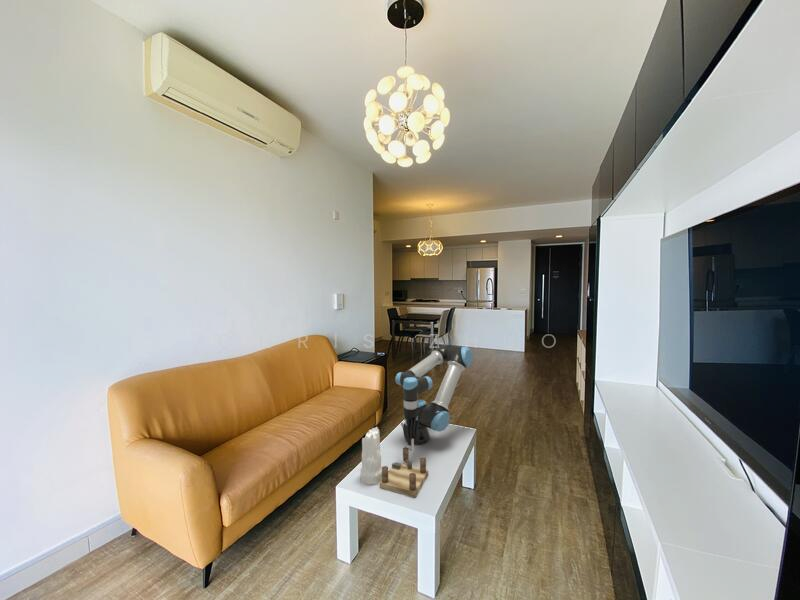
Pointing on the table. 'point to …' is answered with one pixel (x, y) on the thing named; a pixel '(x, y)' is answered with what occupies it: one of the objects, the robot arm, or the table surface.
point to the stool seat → (404, 478)
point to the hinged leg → (406, 457)
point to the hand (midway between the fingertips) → (411, 450)
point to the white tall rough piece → (371, 458)
